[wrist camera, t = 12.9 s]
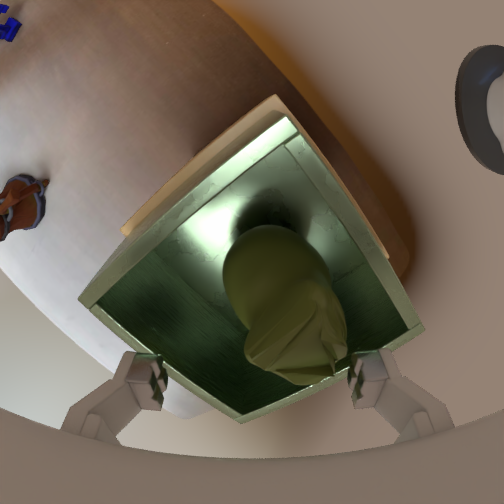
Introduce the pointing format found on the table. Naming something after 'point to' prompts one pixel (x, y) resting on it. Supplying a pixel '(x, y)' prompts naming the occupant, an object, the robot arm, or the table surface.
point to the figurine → (8, 26)
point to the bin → (214, 252)
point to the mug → (21, 204)
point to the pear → (285, 304)
